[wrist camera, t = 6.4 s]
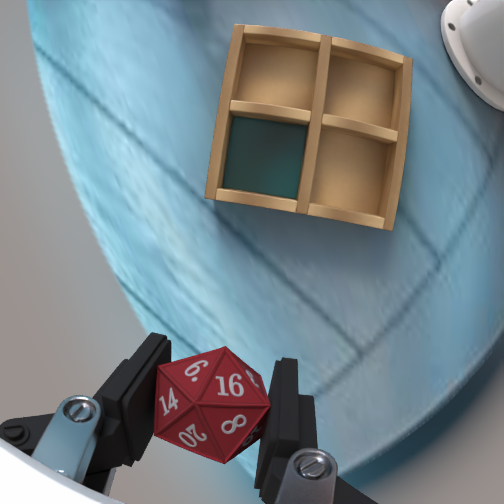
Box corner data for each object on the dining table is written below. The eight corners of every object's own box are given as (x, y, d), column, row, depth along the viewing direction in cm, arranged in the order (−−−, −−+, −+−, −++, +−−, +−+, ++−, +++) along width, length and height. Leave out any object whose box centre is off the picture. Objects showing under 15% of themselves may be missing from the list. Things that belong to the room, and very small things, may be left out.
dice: (205, 303, 11) (165, 369, 7) (298, 376, 11) (300, 456, 7) (152, 363, 12) (108, 428, 8) (236, 423, 12) (220, 496, 8)
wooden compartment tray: (401, 68, 20) (412, 58, 17) (381, 226, 23) (392, 231, 21) (238, 37, 21) (234, 23, 18) (212, 196, 24) (204, 198, 21)
